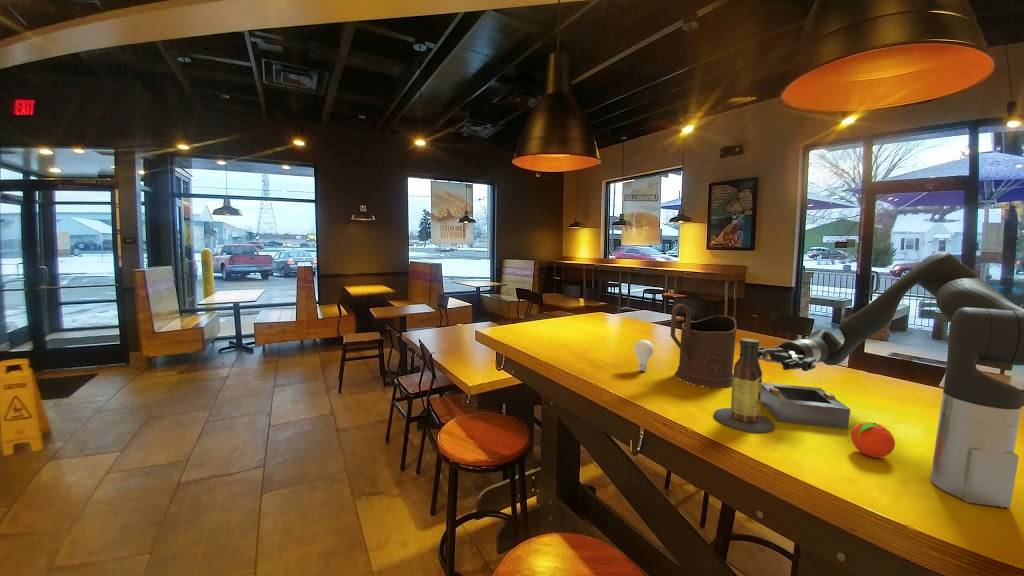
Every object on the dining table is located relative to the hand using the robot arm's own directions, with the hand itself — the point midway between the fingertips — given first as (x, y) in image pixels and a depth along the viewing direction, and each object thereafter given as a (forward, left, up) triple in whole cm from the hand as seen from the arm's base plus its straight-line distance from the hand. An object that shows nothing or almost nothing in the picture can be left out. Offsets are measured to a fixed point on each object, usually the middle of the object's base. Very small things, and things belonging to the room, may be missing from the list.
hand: (766, 361), depth 105 cm
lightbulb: (+28, +28, -14) cm, 42 cm away
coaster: (-6, +6, -14) cm, 16 cm away
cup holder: (+25, +11, -14) cm, 31 cm away
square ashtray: (+4, -10, -14) cm, 18 cm away
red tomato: (-17, -15, -14) cm, 27 cm away
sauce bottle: (-6, +6, -14) cm, 16 cm away
